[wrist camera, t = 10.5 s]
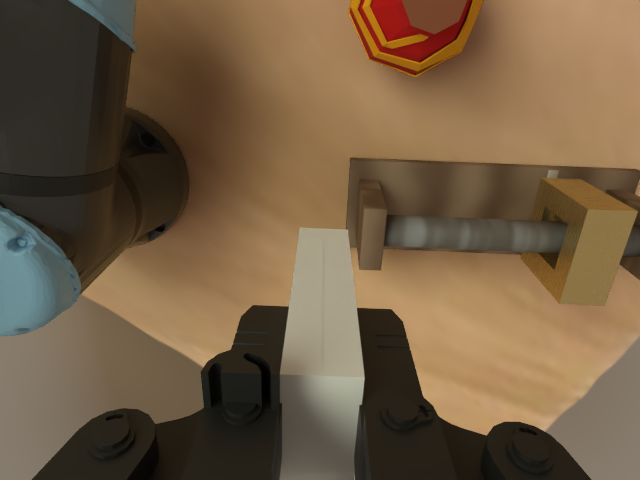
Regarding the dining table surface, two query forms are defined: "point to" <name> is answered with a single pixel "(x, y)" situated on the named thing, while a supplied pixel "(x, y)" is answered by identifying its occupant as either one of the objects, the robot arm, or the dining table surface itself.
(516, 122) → the dining table surface
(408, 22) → the potion bottle
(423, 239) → the pipe rig
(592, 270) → the collar
